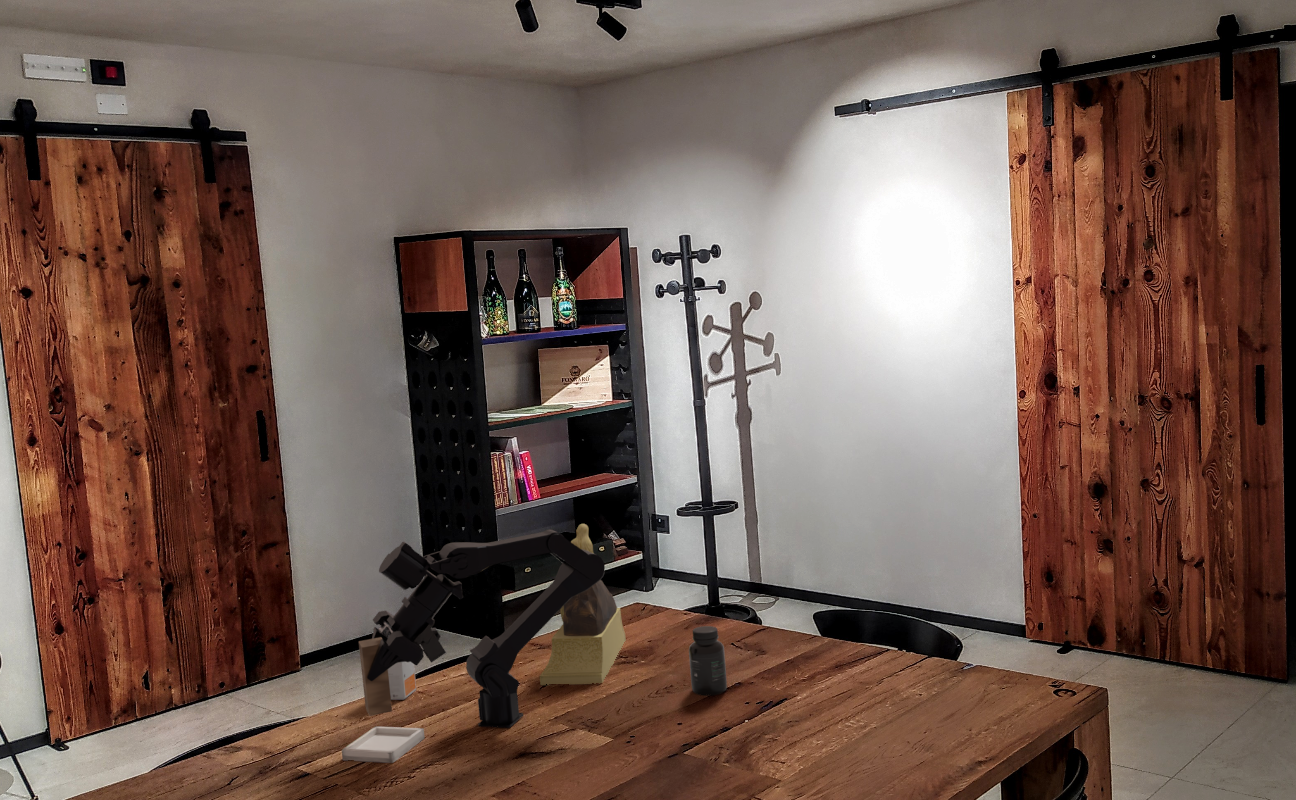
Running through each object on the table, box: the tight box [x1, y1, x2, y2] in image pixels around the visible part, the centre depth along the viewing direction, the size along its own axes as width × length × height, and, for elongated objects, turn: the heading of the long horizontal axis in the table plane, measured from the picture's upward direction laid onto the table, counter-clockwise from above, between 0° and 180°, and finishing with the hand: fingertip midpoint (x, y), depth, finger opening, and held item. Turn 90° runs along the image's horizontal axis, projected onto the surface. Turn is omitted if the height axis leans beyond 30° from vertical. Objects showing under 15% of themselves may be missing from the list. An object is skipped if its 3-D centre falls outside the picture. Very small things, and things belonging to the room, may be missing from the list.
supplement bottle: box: [688, 625, 728, 697], centre depth 211 cm, size 7×7×12 cm
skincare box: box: [388, 662, 417, 701], centre depth 222 cm, size 6×4×12 cm
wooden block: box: [358, 637, 393, 717], centre depth 194 cm, size 4×4×12 cm
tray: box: [341, 725, 425, 764], centre depth 194 cm, size 10×11×2 cm
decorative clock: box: [539, 523, 626, 686], centre depth 234 cm, size 28×13×30 cm, turn 171°
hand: (367, 675), depth 193 cm, fingers closed on wooden block, 4 cm apart
